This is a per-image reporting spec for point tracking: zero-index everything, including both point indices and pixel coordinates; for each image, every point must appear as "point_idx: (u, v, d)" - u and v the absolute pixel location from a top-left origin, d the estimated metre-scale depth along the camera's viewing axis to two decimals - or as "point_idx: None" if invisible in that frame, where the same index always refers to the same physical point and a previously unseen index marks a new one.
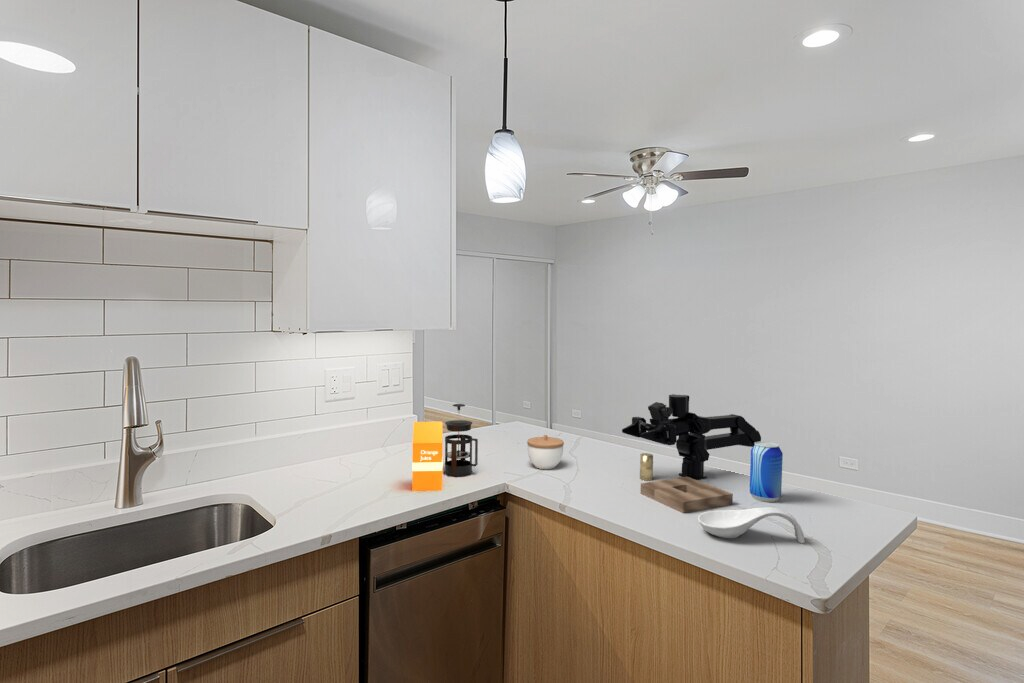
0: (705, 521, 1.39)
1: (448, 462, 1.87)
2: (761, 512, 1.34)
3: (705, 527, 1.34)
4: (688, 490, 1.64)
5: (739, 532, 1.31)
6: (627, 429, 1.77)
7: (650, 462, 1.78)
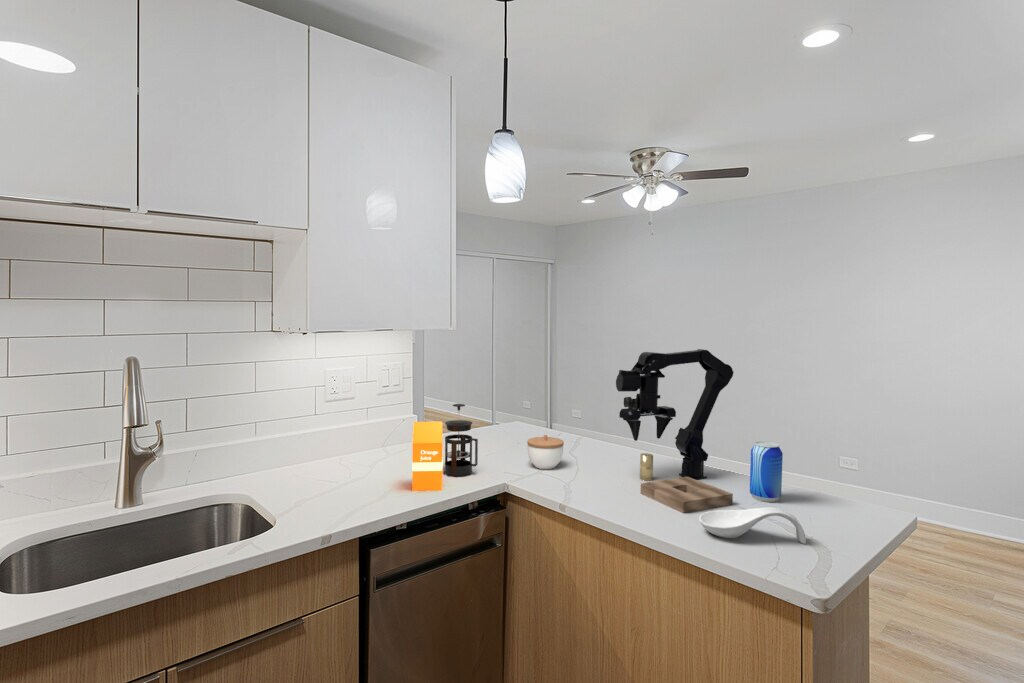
0: (706, 521, 1.39)
1: (448, 462, 1.87)
2: (762, 512, 1.34)
3: (706, 527, 1.34)
4: (688, 490, 1.64)
5: (740, 532, 1.31)
6: (657, 432, 1.82)
7: (650, 462, 1.78)
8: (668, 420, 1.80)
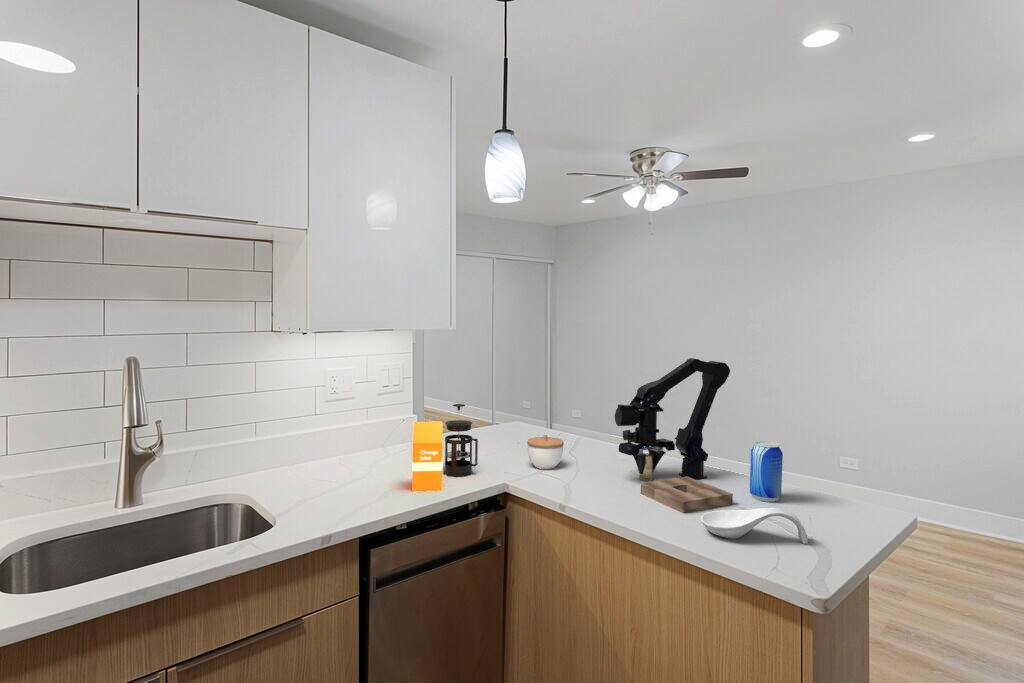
0: (708, 521, 1.39)
1: (448, 462, 1.87)
2: (764, 512, 1.34)
3: (708, 527, 1.34)
4: (688, 490, 1.64)
5: (742, 532, 1.31)
6: None
7: (650, 462, 1.78)
8: (661, 454, 1.79)
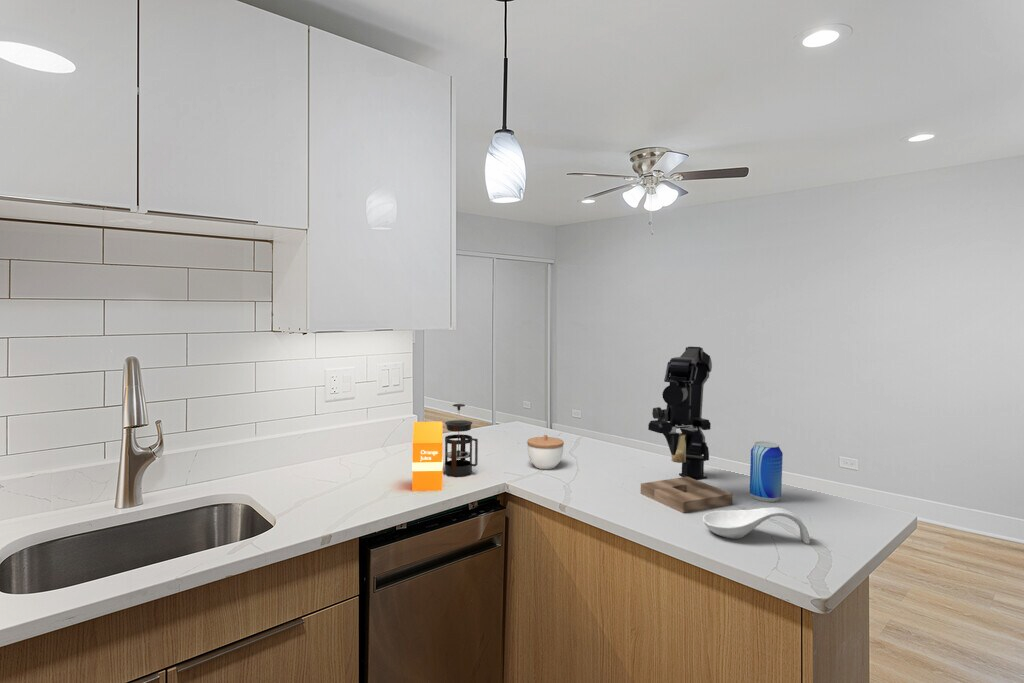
0: (710, 521, 1.39)
1: (448, 462, 1.87)
2: (766, 512, 1.34)
3: (710, 527, 1.34)
4: (688, 490, 1.64)
5: (744, 532, 1.31)
6: None
7: (683, 442, 1.62)
8: (696, 434, 1.62)
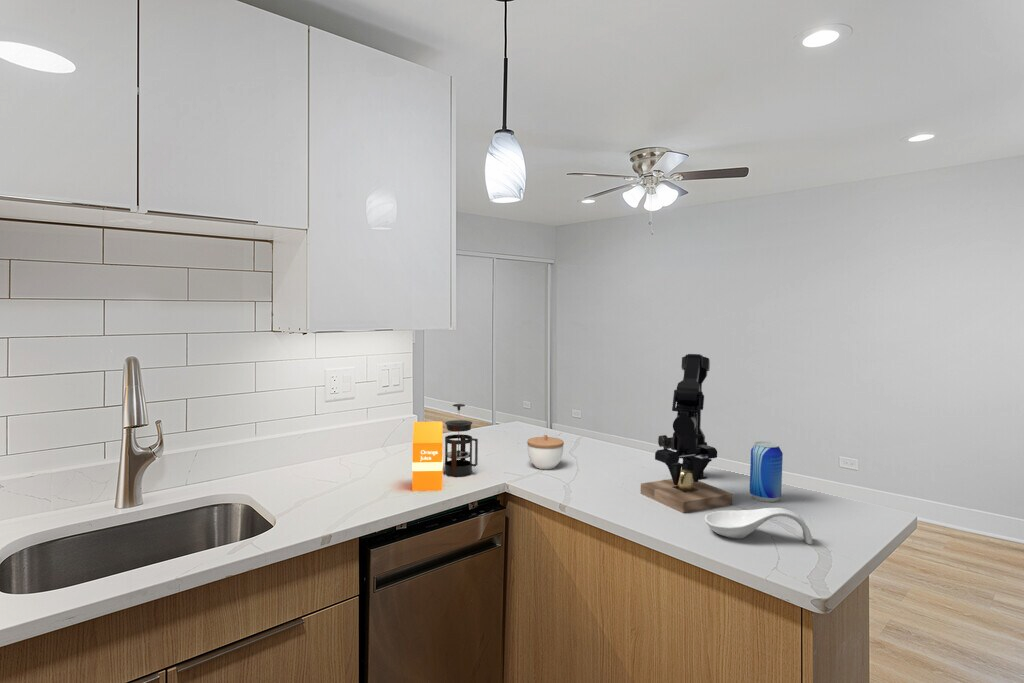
0: (712, 521, 1.39)
1: (448, 462, 1.87)
2: (768, 512, 1.34)
3: (711, 527, 1.34)
4: None
5: (746, 532, 1.31)
6: (694, 475, 1.63)
7: (690, 479, 1.60)
8: (707, 462, 1.61)
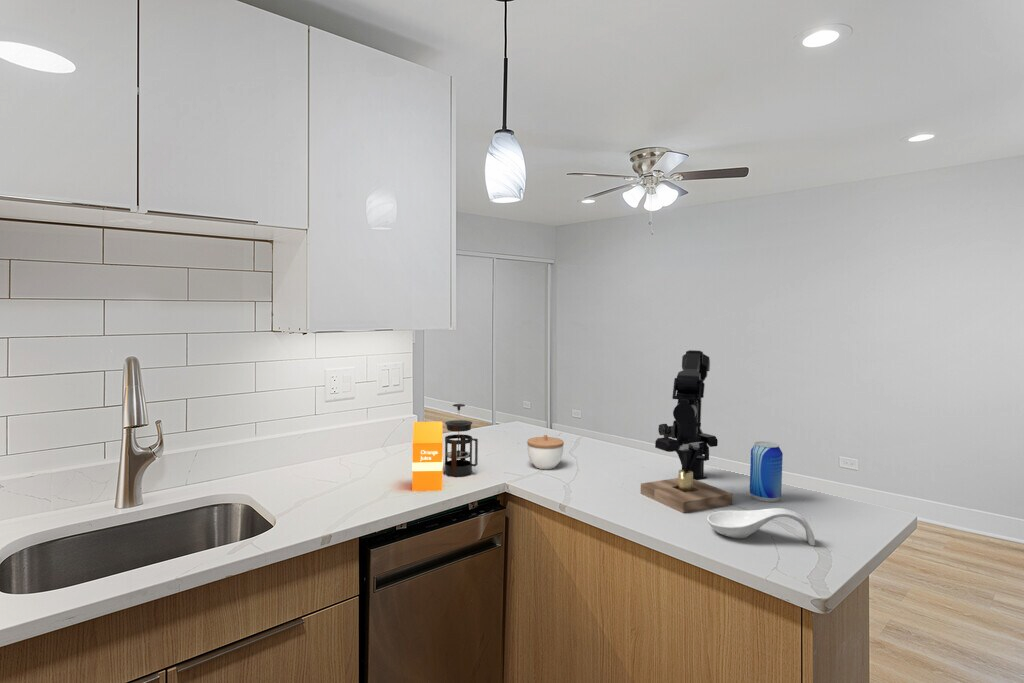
0: (715, 521, 1.39)
1: (448, 462, 1.87)
2: (771, 513, 1.34)
3: (713, 526, 1.34)
4: None
5: (747, 532, 1.31)
6: None
7: (690, 479, 1.60)
8: (698, 451, 1.59)
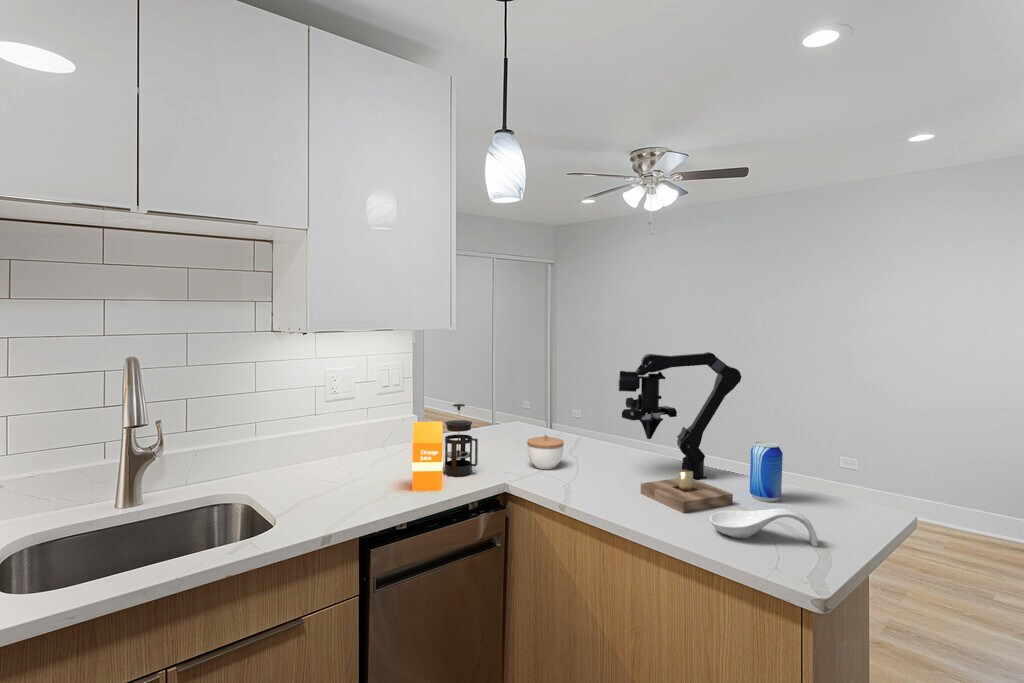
0: (717, 520, 1.39)
1: (448, 462, 1.87)
2: (774, 513, 1.34)
3: (715, 526, 1.35)
4: None
5: (749, 532, 1.31)
6: None
7: (690, 479, 1.60)
8: (659, 421, 1.83)
